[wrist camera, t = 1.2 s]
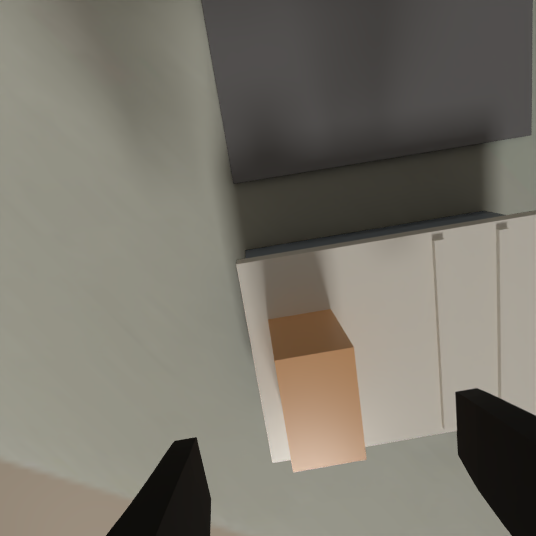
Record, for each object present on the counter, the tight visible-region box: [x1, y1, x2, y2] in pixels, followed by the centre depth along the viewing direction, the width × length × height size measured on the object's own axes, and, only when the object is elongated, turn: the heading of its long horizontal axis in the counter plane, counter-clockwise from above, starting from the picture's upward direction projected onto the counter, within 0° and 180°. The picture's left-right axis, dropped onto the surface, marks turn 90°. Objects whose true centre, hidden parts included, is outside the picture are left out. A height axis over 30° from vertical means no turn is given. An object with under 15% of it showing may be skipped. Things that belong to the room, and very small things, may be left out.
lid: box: [236, 210, 536, 472], centre depth 15 cm, size 12×9×5 cm
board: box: [202, 0, 533, 184], centre depth 16 cm, size 13×9×1 cm
